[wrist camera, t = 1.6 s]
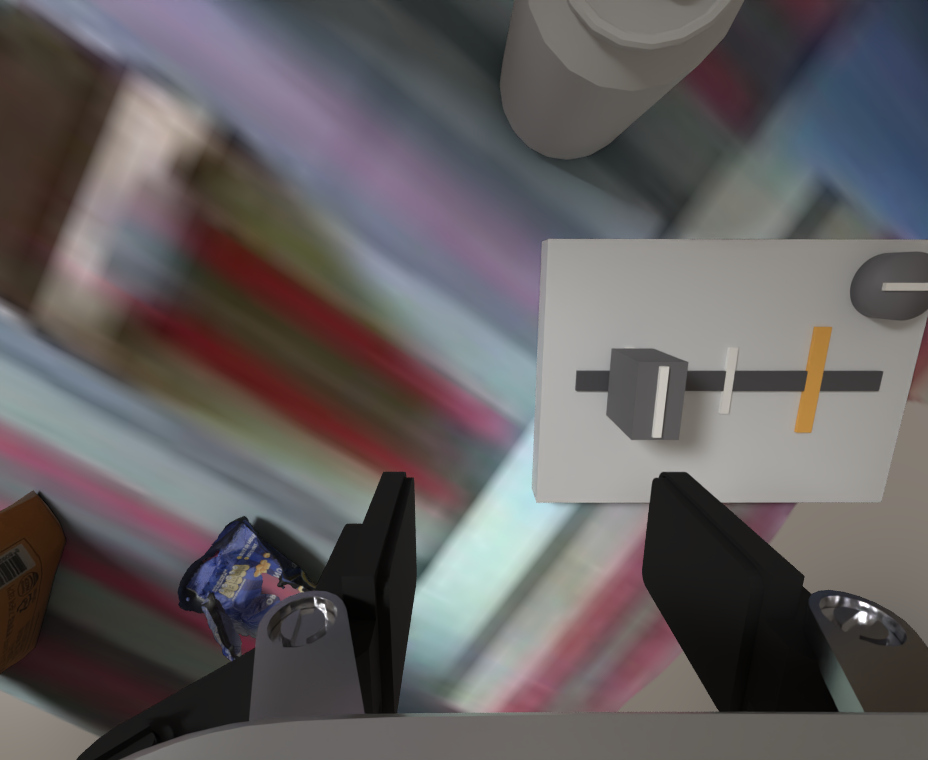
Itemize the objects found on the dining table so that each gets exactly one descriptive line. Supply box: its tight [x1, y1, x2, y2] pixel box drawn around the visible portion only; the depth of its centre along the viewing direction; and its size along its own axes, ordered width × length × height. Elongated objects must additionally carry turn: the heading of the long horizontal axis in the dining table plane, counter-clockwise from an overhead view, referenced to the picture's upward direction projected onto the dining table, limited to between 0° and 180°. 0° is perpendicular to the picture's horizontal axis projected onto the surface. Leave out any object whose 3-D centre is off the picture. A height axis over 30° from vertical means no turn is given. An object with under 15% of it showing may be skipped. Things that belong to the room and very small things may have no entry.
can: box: [500, 0, 744, 160], centre depth 18 cm, size 8×8×12 cm
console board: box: [532, 239, 928, 503], centre depth 26 cm, size 16×22×4 cm
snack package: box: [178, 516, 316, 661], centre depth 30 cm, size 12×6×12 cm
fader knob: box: [606, 348, 689, 440], centre depth 23 cm, size 4×2×4 cm, turn 0°
